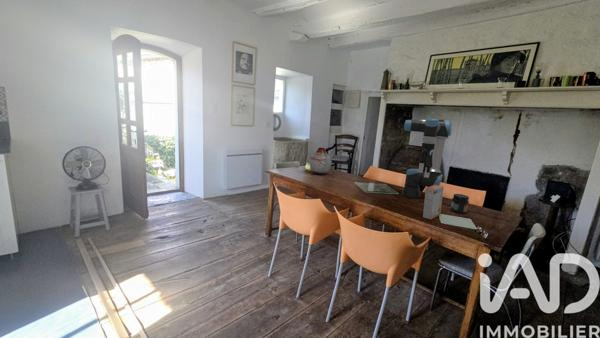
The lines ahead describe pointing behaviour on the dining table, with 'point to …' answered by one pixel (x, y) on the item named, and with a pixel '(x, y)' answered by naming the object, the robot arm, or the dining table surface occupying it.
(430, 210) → the cracker box
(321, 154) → the vase
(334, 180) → the dining table surface
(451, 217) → the mat
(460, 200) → the supplement container
